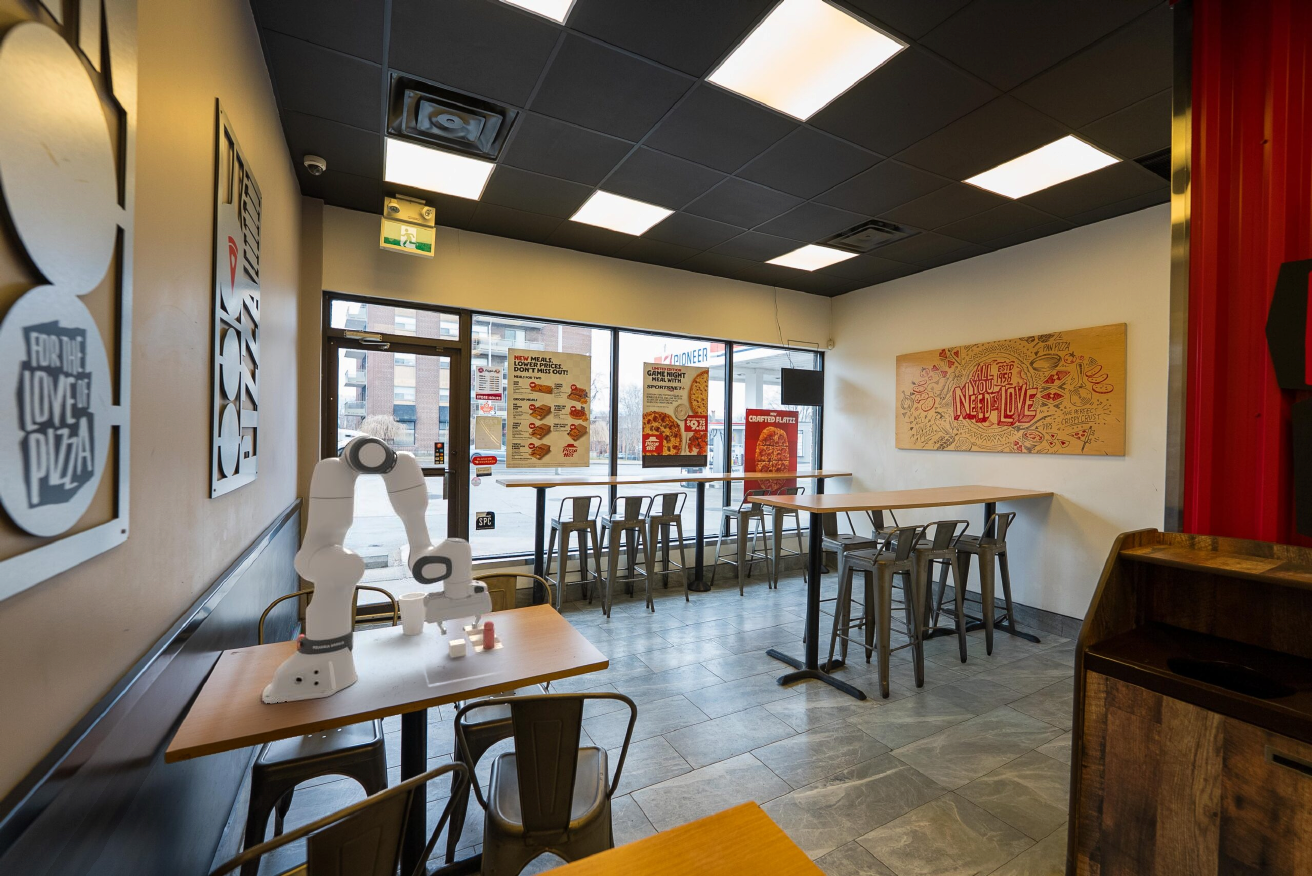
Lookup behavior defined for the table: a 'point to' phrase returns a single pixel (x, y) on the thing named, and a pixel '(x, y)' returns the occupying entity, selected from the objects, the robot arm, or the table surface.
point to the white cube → (457, 648)
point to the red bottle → (488, 635)
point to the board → (480, 638)
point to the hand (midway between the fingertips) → (459, 631)
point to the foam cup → (412, 612)
